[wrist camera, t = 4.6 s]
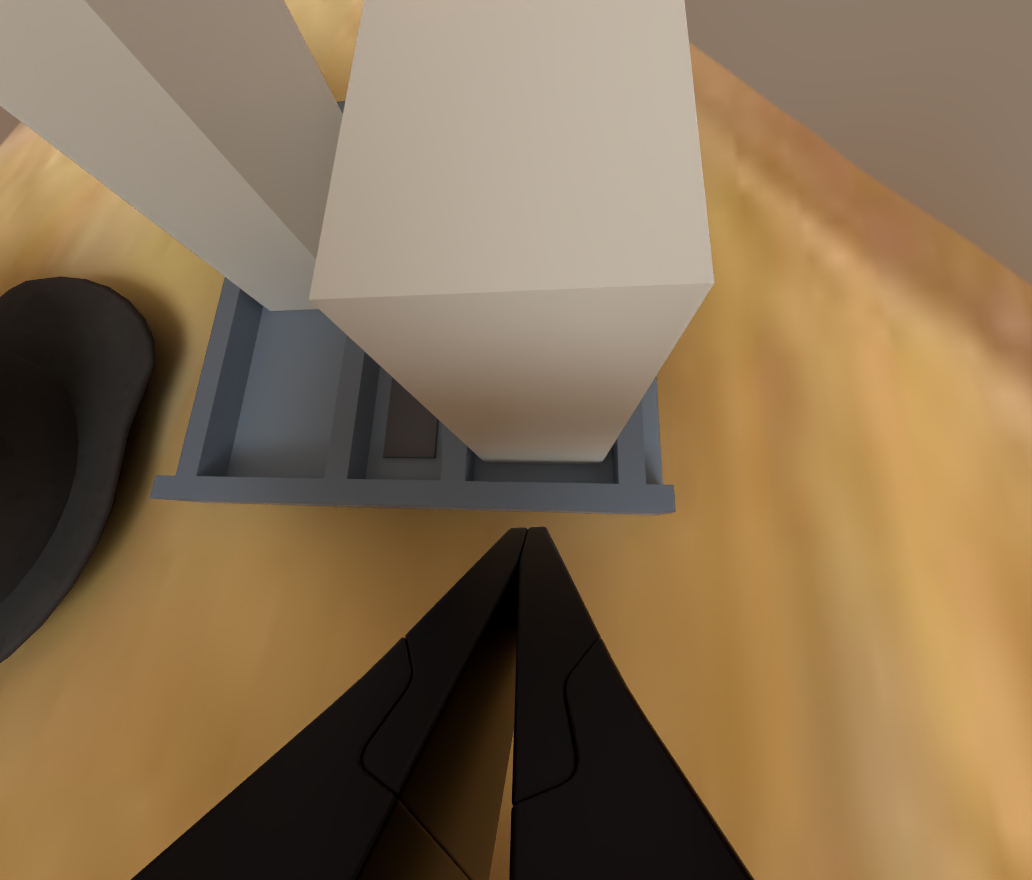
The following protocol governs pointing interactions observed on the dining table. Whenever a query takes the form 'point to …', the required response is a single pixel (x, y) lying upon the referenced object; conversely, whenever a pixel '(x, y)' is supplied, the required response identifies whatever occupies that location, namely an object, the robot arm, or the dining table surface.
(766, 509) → the dining table surface
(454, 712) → the robot arm
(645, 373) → the light grey rectangular block
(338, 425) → the divided tray
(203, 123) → the beige box
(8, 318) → the casserole
